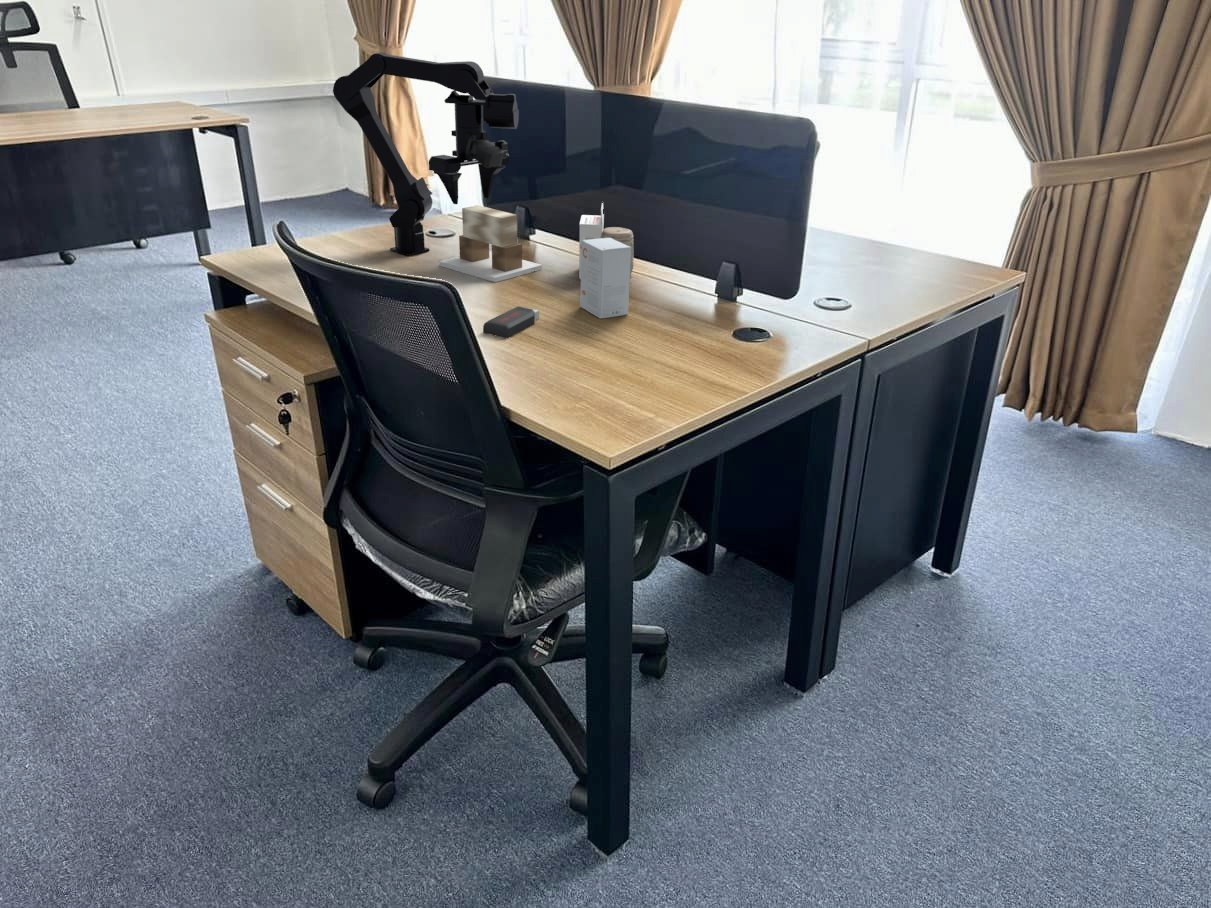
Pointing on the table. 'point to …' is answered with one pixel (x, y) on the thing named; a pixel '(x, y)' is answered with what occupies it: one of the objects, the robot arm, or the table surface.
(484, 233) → the maple beam block
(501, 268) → the walnut posts
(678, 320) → the table surface
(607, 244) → the small box
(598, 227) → the ink cartridge box
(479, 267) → the grey base board
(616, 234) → the carving
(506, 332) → the usb drive
